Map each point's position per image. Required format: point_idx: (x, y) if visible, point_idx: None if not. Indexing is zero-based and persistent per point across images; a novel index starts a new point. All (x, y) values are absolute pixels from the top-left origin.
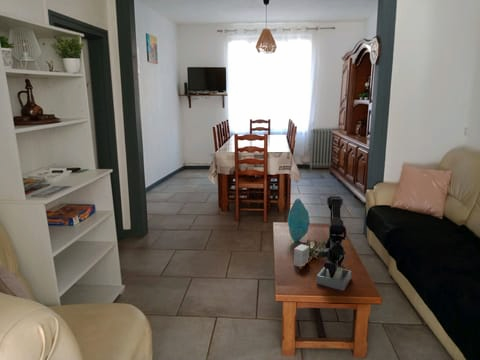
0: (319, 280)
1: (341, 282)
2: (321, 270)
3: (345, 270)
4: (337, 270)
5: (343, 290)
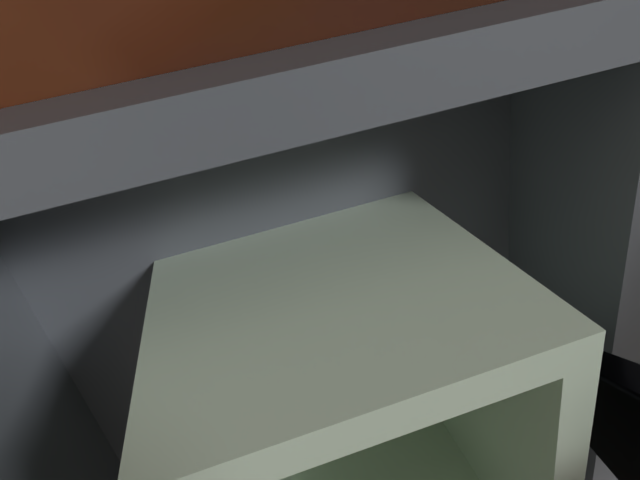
0: None
1: None
2: (237, 100)
3: (591, 464)
4: (489, 446)
5: None
